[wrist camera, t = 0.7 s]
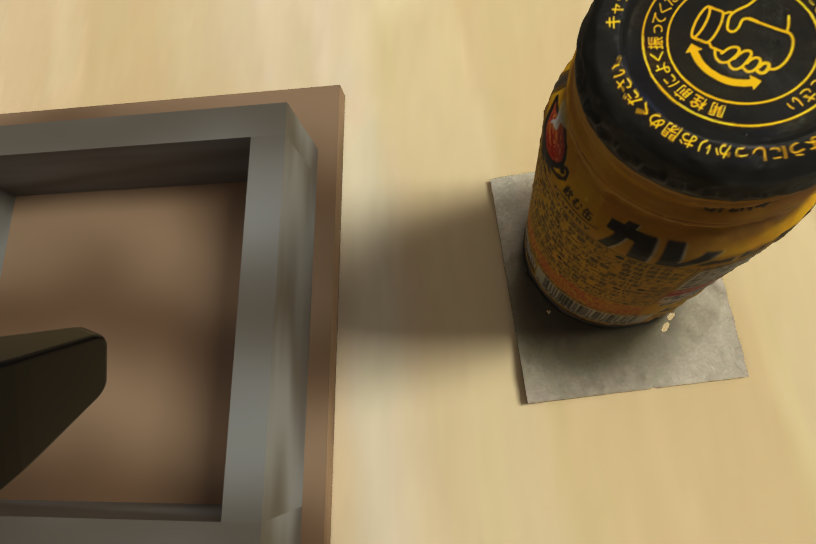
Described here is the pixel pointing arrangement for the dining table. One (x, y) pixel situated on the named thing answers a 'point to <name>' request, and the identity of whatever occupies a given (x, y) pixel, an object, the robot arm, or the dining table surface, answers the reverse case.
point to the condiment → (657, 190)
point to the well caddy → (181, 314)
